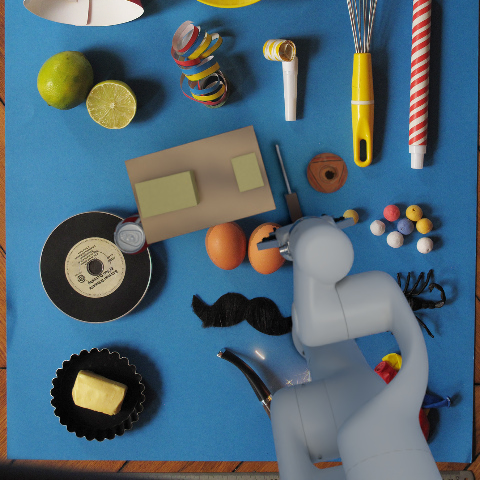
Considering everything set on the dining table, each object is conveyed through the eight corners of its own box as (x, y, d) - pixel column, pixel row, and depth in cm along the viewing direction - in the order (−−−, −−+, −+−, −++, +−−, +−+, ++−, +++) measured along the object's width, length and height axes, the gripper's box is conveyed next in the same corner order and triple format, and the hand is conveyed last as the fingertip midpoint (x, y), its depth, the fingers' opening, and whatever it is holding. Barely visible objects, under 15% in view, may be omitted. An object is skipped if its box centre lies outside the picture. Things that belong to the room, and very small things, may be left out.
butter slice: (240, 191, 62) (263, 184, 62) (240, 192, 60) (264, 185, 60) (231, 158, 62) (254, 152, 62) (230, 158, 60) (254, 152, 60)
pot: (354, 178, 84) (355, 184, 78) (319, 195, 86) (318, 203, 80) (335, 143, 84) (335, 147, 78) (300, 161, 86) (298, 166, 80)
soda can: (159, 246, 86) (144, 260, 74) (127, 239, 86) (107, 252, 74) (165, 213, 86) (152, 223, 74) (133, 207, 86) (114, 215, 74)
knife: (306, 233, 85) (308, 236, 82) (295, 236, 85) (297, 239, 82) (281, 143, 85) (282, 143, 82) (270, 146, 85) (271, 146, 82)
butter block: (200, 202, 62) (197, 205, 59) (148, 214, 63) (142, 218, 59) (192, 170, 62) (189, 170, 59) (141, 182, 63) (134, 183, 59)
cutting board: (269, 195, 85) (276, 209, 62) (175, 221, 86) (147, 244, 63) (252, 133, 85) (252, 124, 62) (158, 160, 86) (124, 160, 63)
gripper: (264, 280, 63) (262, 259, 80) (375, 250, 63) (349, 235, 80) (250, 232, 64) (251, 221, 81) (360, 202, 63) (338, 197, 80)
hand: (300, 228), depth 80 cm, fingers open, 9 cm apart
